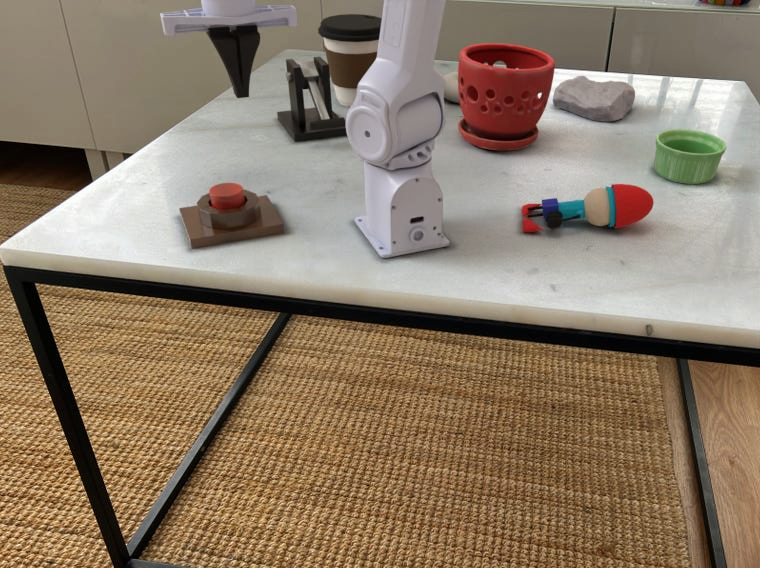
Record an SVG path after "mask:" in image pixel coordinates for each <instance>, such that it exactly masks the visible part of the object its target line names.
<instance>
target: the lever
mask: <svg viewBox="0 0 760 568" xmlns="http://www.w3.org/2000/svg"><path fill="white" fill-rule="evenodd" d="M297 64H298V65H299V66H300V67H301V75H302V86H303V90H308V92H309V94H310V96H311V97H310V98H311V100H312V102H313V105H314V108H316V110H317V113H318V116H319V118H320V120H315V121H308V128H309V131H318V130H326V129H334V128H342V127H345V125H346V118H345V117H344V116H341V117H339V118H332V119H330V118H329V115H328V113H327V110H326V107H325V105H324V102H323V99H322V97H321V94H320V91H319V89H318V82H319V74H318V71H317V69H316V66H315V63H314V60H309V61H308V60H307V61H298V63H297Z"/></svg>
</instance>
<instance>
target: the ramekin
mask: <svg viewBox="0 0 760 568" xmlns="http://www.w3.org/2000/svg"><path fill="white" fill-rule="evenodd" d="M655 146H656V147H655V154H654V162H653V163H654V164H653V169H654V171H655V173H657V174H658V175H659V176H660V177H662V178H663V179H665V180H669V181H671V182H675V183H680V184H687V185H698V184H704V183H707V182H710V181H712V180H713V179H714V178H715V176H716V174H717V172H718V168H719V165H720V163H721V161H722V157H723V155H724V154H725V152H726V150H727V144H726V142H725V141H724V140H723V139H721V138H720V137H718V136H716V135H713V134H711V133H707V132H704V131H699V130H696V129H695V130H694V129H685V128H681V129H680V128H677V129H675V128H674V129H667V130H664V131H661V132H659V133H658V134H657V135H656V137H655Z"/></svg>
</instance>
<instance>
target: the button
mask: <svg viewBox="0 0 760 568" xmlns="http://www.w3.org/2000/svg"><path fill="white" fill-rule="evenodd" d="M243 189H244V187H243V186H242V185H241V184H238V183H235V182H222V183H218V184H214V185H213V186H211V187H210V188H209V190H208V193H209V194H210V199H211V205H212V207H213V208H215V209H223V210H228V209H234V208H238V207H241V206H243V205H245V197H244V191H243Z"/></svg>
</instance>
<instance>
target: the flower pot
mask: <svg viewBox="0 0 760 568" xmlns="http://www.w3.org/2000/svg"><path fill="white" fill-rule="evenodd" d="M497 62H502V63H504V65H505V67H503V66H502V67H501V66H494V64H495V63H497ZM486 63H487V64H486ZM457 67H458V68H457V71H458V93H459V101H460V104H459V105H460V106H459V107H460V109H461V113H462V116H463V118H461V119H460V120H459V122H458V124H457V129H458V132H459V134H460V135H461V137H462V138H463V140H465V141H466V142H468V143H469V144H471V145H473V146H476V147H478V148H481V149H486V150H488V151H489V150H490V151H499V152H502V151H503V152H504V151H515V150H516V151H517V150H521V149H523V148H527V147H528V146H530V145H532V144H533V143H534V142H535V141H536V140H537V138H538V136H539V133H540V130H539V127H538V126H537V125H538V123H539V121H540V120H541V118H542V116H543V115H544V112H545V110H546V107H547V104H548V103H549V99H550V94H551V91H552V86H553V81H554V77H555V69H556V61H555V59H554V58H553V57H552V56H551V55H549V53H546V52H545V51H542V50H539V49H536V48H533V47H529V46H524V45H518V44H512V43H502V42H501V43H500V42H499V43H498V42H489V43H488V42H487V43H486V42H485V43H476V44H471V45H468V46H467V45H466V47H464V48H462V49H461V50H460V52H459V57H458V66H457ZM539 94H541V95H540V97H539Z"/></svg>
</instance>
